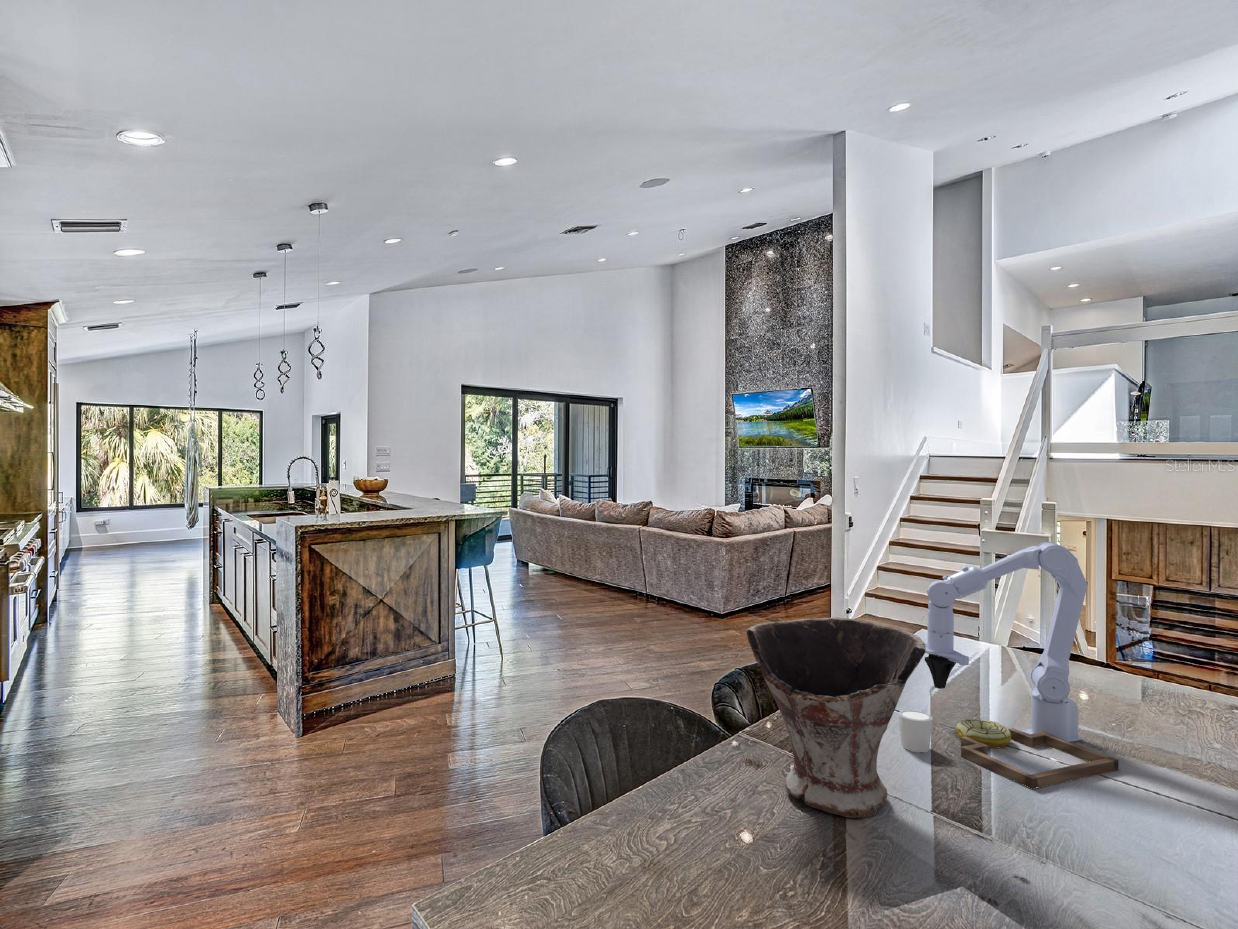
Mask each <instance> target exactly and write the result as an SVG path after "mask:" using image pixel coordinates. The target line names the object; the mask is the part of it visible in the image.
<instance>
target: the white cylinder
mask: <svg viewBox="0 0 1238 929" xmlns="http://www.w3.org/2000/svg"><path fill="white" fill-rule="evenodd" d="M933 719H934V718H933V716H932V715H930V714H928V713H926V712H922V711H919V710H911V709H910V710H909V709H905V710H900V711H899V712H898V721H899V724H898V725H899V732H900V735H899V736H900V745H901V747H902V746H903V747H902V748H903V749H904V748H905V749H904V750H906V749H907V750H906V751H908V750H910V751H909V752H912V753H917V752H918V753H919V752H925V753H928V752H930V746H931V736H932V729H933V728H932V727H933ZM913 751H914V752H913ZM927 751H928V752H927ZM919 754H920V753H919Z"/></svg>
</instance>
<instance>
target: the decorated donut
mask: <svg viewBox="0 0 1238 929" xmlns="http://www.w3.org/2000/svg"><path fill="white" fill-rule="evenodd" d="M1008 729H1009V728H1008V727H1006V726H1005V725H1003V724H1002V723H999V722H996V721H993V720H988V719H983V718H982V719H980V718H968V719H967V718H966V719H963V720H962V721H960V722H958V723H957V724H956V734H957V737H958V738H959V739H960V740H961V737H965V736H966V737H969V738H971V739H973V740H976V741H978V742H980V743H983V744H985V745H987V746H988V748H991V749H996V748H999V747H1000V748H1004V746H1005V747H1006V746H1007V747H1008V745H1009V744H1010V743H1011V741H1012V739H1011V733H1010V731H1009V730H1008Z"/></svg>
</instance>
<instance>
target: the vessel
mask: <svg viewBox="0 0 1238 929" xmlns="http://www.w3.org/2000/svg"><path fill="white" fill-rule="evenodd" d="M746 637H747V640H748V641H747V642H748V643H749V646H750V649H751V652H752V653H753V658H754V660H755V662H756V663H757V664H758V666H759V668H760V671H761V674H762V676H763V678H764V681H765V682H766V685H767V687H768V690H769V691H770V693H771V695H772V697H773V699H774V701H775V703H776V705H777V708H778V710H779V712H780V715H781V717H782V720H783V722H784V725H785V729H786V731H787V735H788V737H789V741H790V744H791V749H792V755H793V767H792V768H791V770H790V771H789V772H788V773H787V774H786V778H785V784H784V785H785V790H786V791H787V793H789V794H790V795H791V796H792V797H793V798H795V799H797V800H800V799H801V800H802V801H803V803H804V804H805V805H806V806H808V807H811V808H814V809H816V810H817V809H818V810H821V811H824V812H826V813H830V814H833V815H836V816H837V815H838V816H842V817H845V818H850V819H851V818H852V819H858V818H868V817H872V816H875V815H877V811H878V809H880V808H881V807H882V806H883V805H884V804H885V803H886V801H887V798H888V790H887V787H886V786H885V784H884V783H883V782H882V780H881V778H880V776H879V774H878V771H877V770H878V769H877V768H878V767H877V766H878V755H879V748H880V745H881V743H882V742H881V741H882V739H883V736H884V734H885V733H886V732H887V729H888V726H889V723H890V721H891V720H892V717H893V714H894V712H895V710H896V708H897V706H898V703H899V701H900V698H901V697H902V696H901V695H902V693H903V692H904V688H905V686H906V684H907V681H908V679H909V678H910V677H911V676H912V674H913V673H914V671H915V670H916V668H917V667H918V666H919V663H920V662H921V660H922V659H923V657H924V655H925V654H926V653H925V652H926V648H925V644H926V643H925V642H924V641H923V640H922V638H920V637H919V636H918V635H916V634H914V633H911V632H909V631H908V630H905V629H903V628H901V627H897V626H895V625H890V624H889V625H888V624H882V623H881V624H880V623H876V622H873V621H869V620H865V619H860V618H848V617H818V618H815V617H814V618H802V619H801V618H800V619H793V620H779V621H770V622H762V623H757V624H755V625H753V626H750V627H748V628H747V630H746Z"/></svg>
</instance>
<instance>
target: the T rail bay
mask: <svg viewBox="0 0 1238 929" xmlns="http://www.w3.org/2000/svg"><path fill="white" fill-rule="evenodd" d="M1008 730H1009V731H1010V733H1011V740H1012V739H1014V740H1013V741H1015V740H1016V741H1015V742H1017V741H1018V743H1019V742H1020V743H1021V744H1022V743H1023V744H1022V745H1024V744H1025V746H1028V747H1029V746H1033V747H1038V746H1043V745H1045V746H1048V747H1051V748H1053V749H1056V750H1058V749H1059V750H1058V751H1061V752H1063V753H1066V754H1068V753H1069V754H1068V755H1072V756H1074V757H1076V756H1078V757H1077V758H1079V759H1082V760H1085V761H1086V760H1088V761H1087V762H1083V763H1077V764H1073V765H1068V766H1064V767H1059V768H1053V769H1049V770H1044V771H1040V772H1036V773H1029V772H1026V771H1024V770H1022V769H1020V768H1017V767H1015V766H1014V765H1010V764H1008V763H1006V762H1004V761H1002V760H999V759H997V758H995V757H993V756H991V755H989V747H988V746H987V745H985V744H983V743H980V742H978V741H976V740H973V739H971V738H969V737H966V736H965V737H961V739H960V757H962V758H963V759H965V760H968V761H970V762H972V763H974V764H977V765H979V766H981V767H983V768H986V769H988V770H989V771H992V772H994V773H996V774H998V775H1001V776H1002V777H1004V778H1007V779H1009V780H1012V781H1013V780H1015V781H1017V782H1019V783H1018V784H1020V785H1022V784H1024V785H1026V786H1028V787H1030V788H1032V789H1031V790H1034V789H1033V788H1036V787H1041V788H1043V787H1042V786H1046V785H1050V786H1052V785H1051V784H1054V785H1058V784H1062V783H1067V782H1066V781H1068V782H1071V781H1070V780H1072V781H1075V780H1081V779H1085V778H1089V777H1093V776H1097V775H1102V774H1106V773H1111V772H1115V771H1119V769H1120V768H1119V766H1120V765H1119V763H1120V762H1119V759H1116V758H1114V757H1112V756H1108V755H1106V754H1103V753H1101V752H1098V751H1096V750H1092V749H1091V748H1087V747H1085V746H1081V745H1079V744H1076V743H1073V742H1069V741H1066V740H1063V739H1061V738H1058V737H1055V736H1053V735H1050V734H1047V733H1045V732H1040V733H1034V734H1027V733H1024V732H1022V730H1018V729H1016V728H1013V727H1012V728H1008ZM1089 761H1090V762H1089ZM1084 777H1085V778H1084ZM1080 778H1081V779H1080ZM1015 781H1014V782H1015ZM1017 782H1016V783H1017ZM1024 785H1023V786H1024ZM1026 786H1025V787H1026ZM1028 787H1027V788H1028ZM1046 787H1047V786H1046ZM1030 788H1029V789H1030Z"/></svg>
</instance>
